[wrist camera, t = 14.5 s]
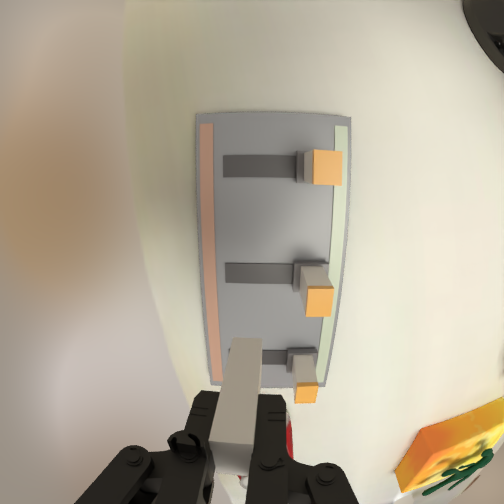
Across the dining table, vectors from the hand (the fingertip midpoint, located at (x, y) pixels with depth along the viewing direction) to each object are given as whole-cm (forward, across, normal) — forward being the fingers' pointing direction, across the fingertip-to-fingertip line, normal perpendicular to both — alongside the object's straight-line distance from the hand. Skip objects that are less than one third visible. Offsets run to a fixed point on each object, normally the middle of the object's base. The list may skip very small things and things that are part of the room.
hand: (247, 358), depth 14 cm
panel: (+15, +1, 0) cm, 15 cm away
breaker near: (+13, +5, +10) cm, 17 cm away
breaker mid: (+13, +5, 0) cm, 14 cm away
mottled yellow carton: (+16, +43, -41) cm, 61 cm away
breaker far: (+13, +5, -10) cm, 17 cm away
